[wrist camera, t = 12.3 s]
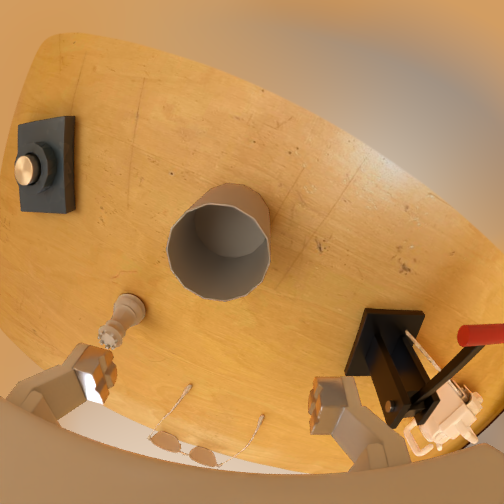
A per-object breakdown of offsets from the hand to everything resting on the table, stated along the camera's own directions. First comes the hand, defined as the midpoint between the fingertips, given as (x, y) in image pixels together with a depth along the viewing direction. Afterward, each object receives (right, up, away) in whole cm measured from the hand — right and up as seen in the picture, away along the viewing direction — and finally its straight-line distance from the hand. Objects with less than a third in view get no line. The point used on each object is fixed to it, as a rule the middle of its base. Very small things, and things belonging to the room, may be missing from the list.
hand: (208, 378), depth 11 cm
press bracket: (+20, -8, +27) cm, 35 cm away
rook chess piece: (-15, -2, +27) cm, 31 cm away
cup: (-1, +8, +22) cm, 24 cm away
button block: (-25, +16, +20) cm, 36 cm away
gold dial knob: (-25, +15, +17) cm, 34 cm away
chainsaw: (+32, -19, +31) cm, 48 cm away
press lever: (+20, -6, +13) cm, 24 cm away
